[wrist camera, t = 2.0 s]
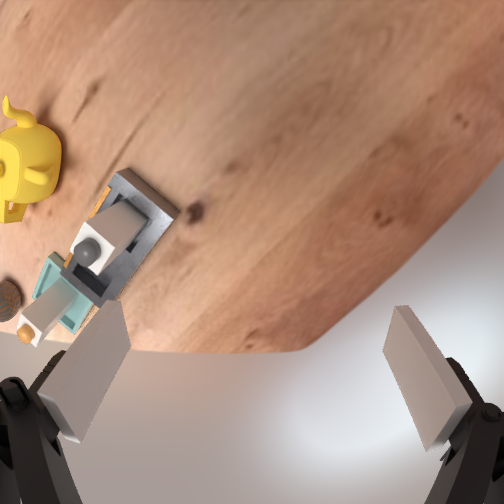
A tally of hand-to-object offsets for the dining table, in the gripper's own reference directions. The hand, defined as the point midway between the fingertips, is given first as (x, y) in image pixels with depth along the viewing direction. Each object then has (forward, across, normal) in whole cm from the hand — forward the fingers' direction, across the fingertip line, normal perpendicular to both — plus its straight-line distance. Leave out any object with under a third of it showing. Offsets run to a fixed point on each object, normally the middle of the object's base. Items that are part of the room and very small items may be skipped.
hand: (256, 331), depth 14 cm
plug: (+25, -31, -14) cm, 42 cm away
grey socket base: (+25, -19, -5) cm, 32 cm away
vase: (+26, -46, -15) cm, 54 cm away
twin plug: (+24, -16, -1) cm, 29 cm away
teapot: (+26, -33, +9) cm, 43 cm away
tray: (+25, -31, -14) cm, 42 cm away
